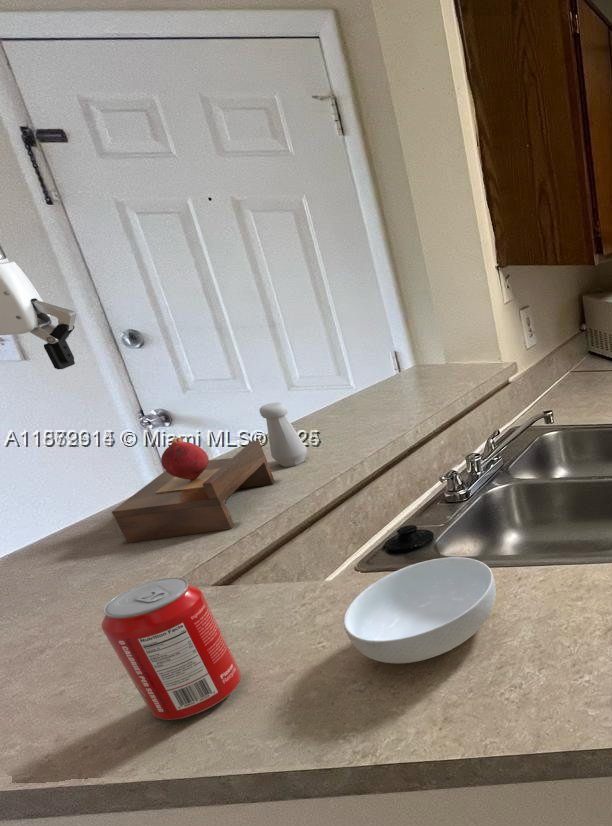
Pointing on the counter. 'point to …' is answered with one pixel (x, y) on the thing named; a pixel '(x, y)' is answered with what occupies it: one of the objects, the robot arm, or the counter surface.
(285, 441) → the salt shaker
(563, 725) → the counter surface
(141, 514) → the wooden display stand
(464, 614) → the cereal bowl
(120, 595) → the soda can
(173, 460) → the pomegranate
